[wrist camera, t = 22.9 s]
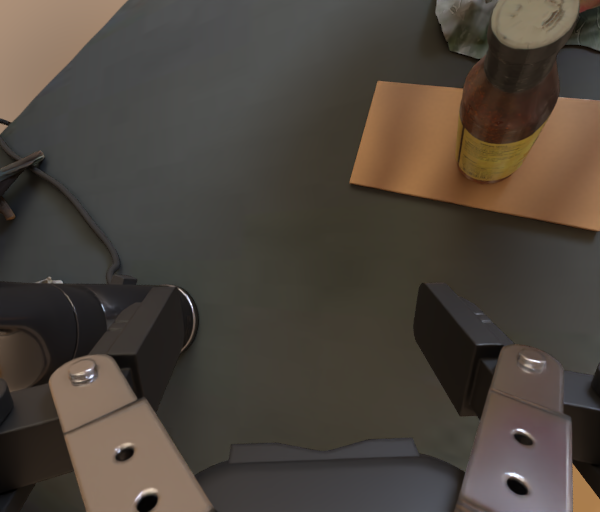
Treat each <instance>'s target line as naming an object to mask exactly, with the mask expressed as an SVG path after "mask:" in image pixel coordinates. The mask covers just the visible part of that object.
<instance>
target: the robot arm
mask: <svg viewBox="0 0 600 512" xmlns="http://www.w3.org/2000/svg"><path fill="white" fill-rule="evenodd" d="M0 123H1V124H4V125H7V126H8V125H9V124H11V123H12V122H9V121H7V120H4V119H1V118H0ZM0 146H1V147H2V149H3V150H4V151H5V152H6V153H7V154H8V155H9V156H10V157H11V158H13V159H14V160H16V161H18V160H20V159H22V158H21V157H20V156H18V155H17V154H15V153H14V152H13V151H12V150H11V149H10V148H9V147H8V146H7V144H6V143H5V142H4V140H3V139H2V137H1V136H0ZM27 168H28V169H29V170H30V171H32V172H33V173H35V174H37V175H38V176H40V177H42V178H43V179H45V180H46V181H48V182H50V183H51V184H52V185H54V186H55V187H56V188H57V189H58V190H60V191H61V192H62V193H63V194H64V195H65V196H66V197H67V198H68V199H69V200H70V202H71V203H72V204H73V205H74V206H75V208H76V209H77V210H78V212H79V213H80V214H81V216H82V217H83V218H84V220H85V221H86V222H87V224H88V225H89V226H90V228H91V229H92V230H93V231H94V232H95V234H96V235H97V236H98V237H99V238H100V240H101V241H102V242H103V243H104V245H105V246H106V247H107V249H108V251H109V252H110V254H111V257H112V261H113V265H112V266H111V267H110V268H109V269H108V271H107V273H106V280H107V283H108V284H62V283H21V282H5V281H0V512H20V510H21V508H22V506H23V505H24V503H25V501H26V500H27V498H28V496H29V494H30V493H31V491H32V489H33V488H34V486H35V484H36V483H37V482H40V481H43V480H47V479H50V478H53V477H56V476H60V475H63V474H66V473H69V472H73V471H75V475H76V478H77V481H78V485H79V488H80V491H81V495H82V498H83V501H84V505H85V508H86V511H87V512H573V486H572V484H573V483H572V463H573V464H574V466H575V467H576V468H577V470H578V471H579V472H580V474H581V475H582V476H583V478H584V479H585V480H586V482H587V483H588V484H589V485H590V487H591V488H592V489H593V491H594V492H595V493H596V495H597V496H598V497H599V499H600V363H599V365H598V367H597V370H596V372H595V375H588V374H582V373H577V372H571V371H565V370H564V368H563V366H562V365H561V363H560V362H559V361H558V360H557V359H555V358H554V357H553V356H551V355H550V354H548V353H546V352H544V351H542V350H539V349H537V348H534V347H530V346H526V345H518V344H514V343H513V342H512V341H511V340H510V339H509V338H508V337H507V336H506V335H505V334H504V333H503V332H502V331H501V330H500V329H499V328H498V327H497V326H496V325H495V324H494V323H492V321H491V320H490V319H489V318H488V317H487V316H486V315H484V313H483V312H482V311H481V310H480V309H479V308H478V307H477V306H476V305H475V304H474V303H472V302H470V301H468V300H466V299H465V298H463V297H458V295H457V294H456V293H455V292H454V291H453V290H452V289H451V288H450V287H449V286H448V285H447V284H446V283H422V284H421V285H420V287H419V291H418V297H417V304H416V311H415V317H414V325H413V329H414V336H415V340H416V342H417V344H418V346H419V347H420V349H421V351H422V352H423V354H424V356H425V358H426V359H427V361H428V363H429V364H430V366H431V368H432V369H433V371H434V373H435V375H436V376H437V378H438V380H439V381H440V383H441V385H442V387H443V388H444V390H445V392H446V393H447V395H448V397H449V399H450V400H451V402H452V404H453V405H454V407H455V409H456V410H457V412H458V414H459V416H478V418H479V420H480V423H479V427H478V430H477V434H476V437H475V441H474V444H473V448H472V451H471V455H470V458H469V462H468V465H467V469H466V472H463V471H462V470H460V469H459V468H457V467H455V466H453V465H451V464H449V463H447V462H445V461H442V460H440V459H437V458H435V457H432V456H428V455H425V454H420V453H418V450H417V448H416V445H415V443H414V440H413V438H392V439H368V440H365V441H361V442H358V443H354V444H350V445H347V446H343V447H340V448H336V449H333V450H329V451H318V450H312V449H307V448H302V447H297V446H291V445H286V444H281V443H254V444H231V449H230V456H229V460H227V461H224V462H221V463H218V464H216V465H213V466H211V467H209V468H207V469H205V470H203V471H201V472H199V473H198V474H196V475H195V476H194V475H193V473H192V472H191V470H190V468H189V467H188V465H187V463H186V462H185V460H184V459H183V457H182V455H181V454H180V452H179V451H178V449H177V447H176V446H175V444H174V442H173V441H172V439H171V438H170V436H169V434H168V433H167V431H166V430H165V428H164V426H163V425H162V423H161V421H160V420H159V418H158V417H157V415H156V411H157V409H158V406H159V404H160V401H161V399H162V396H163V394H164V392H165V389H166V387H167V384H168V382H169V379H170V377H171V374H172V372H173V369H174V367H175V364H176V362H177V359H178V357H179V354H180V353H182V352H184V351H185V350H186V349H187V348H188V347H189V346H190V345H191V343H192V342H193V340H194V338H195V336H196V333H197V329H198V311H197V307H196V304H195V302H194V300H193V298H192V297H191V296H190V294H189V293H188V292H187V291H186V290H184V289H183V288H181V287H179V286H176V285H136V282H137V279H136V278H133V277H131V276H128V275H114V273H115V272H116V271H117V270H118V268H119V266H120V260H119V257H118V254H117V251H116V249H115V248H114V246H113V245H112V243H111V241H110V240H109V239H108V238H107V236H106V235H105V234H104V233H103V232H102V230H101V229H100V228H99V227H98V226H97V224H96V223H95V222H94V221H93V219H92V218H91V217H90V215H89V214H88V213H87V211H86V210H85V209H84V207H83V206H82V205H81V204H80V202H79V201H78V200H77V199H76V198H75V197H74V196H73V194H72V193H71V192H70V191H69V190H68V189H66V188H65V187H64V186H63V185H62V184H61V183H60V182H58V181H57V180H56V179H54V178H53V177H51V176H49V175H48V174H46V173H44V172H43V171H41V170H39V169H38V168H36V167H35V166H33V165H31V166H29V167H27Z"/></svg>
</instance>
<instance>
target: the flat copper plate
mask: <svg viewBox="0 0 600 512" xmlns="http://www.w3.org/2000/svg"><path fill="white" fill-rule="evenodd" d="M462 94H463V89H462V88H451V87H439V86H428V85H417V84H406V83H394V82H383V81H378V82H377V85H376V89H375V92H374V96H373V100H372V103H371V107H370V110H369V114H368V118H367V121H366V125H365V128H364V132H363V135H362V139H361V143H360V146H359V150H358V153H357V157H356V161H355V164H354V168H353V171H352V175H351V179H350V182H349V183H350V184H354V185H359V186H364V187H370V188H375V189H380V190H385V191H390V192H395V193H401V194H406V195H411V196H416V197H421V198H426V199H431V200H437V201H442V202H447V203H452V204H457V205H462V206H468V207H473V208H478V209H483V210H488V211H493V212H498V213H504V214H509V215H514V216H519V217H524V218H529V219H534V220H540V221H545V222H550V223H555V224H560V225H565V226H571V227H576V228H581V229H586V230H591V231H596V232H597V231H599V230H600V101H597V100H586V99H575V98H563V97H558V100H557V103H556V105H555V107H554V109H553V111H552V113H551V115H550V117H549V118H548V121H547V122H546V123H545V125H544V127H543V128H542V131H541V132H540V134H539V136H538V138H537V140H536V141H535V143H534V144H533V146H532V148H531V150H530V151H529V153H528V155H527V157H526V158H525V160H524V162H523V163H522V164H521V166H520V167H519V168H518V169H517V170H516V171H515V172H514V173H513V174H512V175H511V176H510V177H508V178H506V179H505V180H503V181H500V182H497V183H490V184H480V183H477V182H474V181H472V180H470V179H467V178H466V177H465V176H464V175H463V174H462V173H461V172H460V171H459V169H458V164H457V161H456V157H455V150H456V139H457V129H458V118H459V108H460V103H461V100H462Z"/></svg>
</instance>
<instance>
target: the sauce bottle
mask: <svg viewBox="0 0 600 512" xmlns="http://www.w3.org/2000/svg"><path fill="white" fill-rule="evenodd" d="M579 11H580V2H579V0H498V2H497V3H496V5H495V7H494V8H493V10H492V14H491V18H490V22H489V26H488V31H487V41H488V44H489V47H488V51H487V53H486V55H485V56H484V57H483V58H482V59H480V60H479V61H478V62H477V63H476V64H475V65H474V66H473V68H472V69H471V71H470V72H469V73H468V76H467V77H466V79H465V84H464V87H463V94H462V100H461V103H460V108H459V118H458V129H457V139H456V150H455V157H456V161H457V164H458V169H459V171H460V172H461V173H462V174H463V175H464V176H465V177H466V178H467V179H470V180H472V181H474V182H477V183H480V184H490V183H497V182H500V181H503V180H505V179H506V178H508V177H510V176H511V175H512V174H513V173H514V172H515V171H516V170H517V169H518V168H519V167H520V166H521V164H522V163H523V162H524V160H525V158H526V157H527V155H528V153H529V151H530V150H531V148H532V146H533V144H534V143H535V141H536V140H537V138H538V136H539V134H540V132H541V131H542V128H543V127H544V125H545V123H546V122H547V121H548V118H549V117H550V115H551V113H552V111H553V109H554V107H555V105H556V103H557V100H558V96H559V90H560V84H559V77H558V70H557V63H556V56H557V54H558V52H559V50H560V49H561V48H562V47H563V46H564V45H565V44H566V42H567V41H568V39H569V38H570V36H571V34H572V32H573V29H574V27H575V25H576V21H577V19H578V17H579Z"/></svg>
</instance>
